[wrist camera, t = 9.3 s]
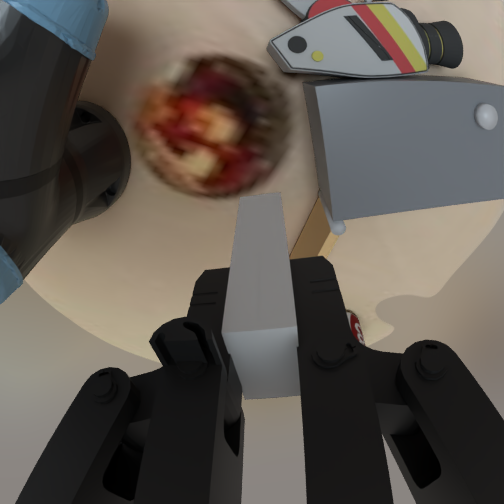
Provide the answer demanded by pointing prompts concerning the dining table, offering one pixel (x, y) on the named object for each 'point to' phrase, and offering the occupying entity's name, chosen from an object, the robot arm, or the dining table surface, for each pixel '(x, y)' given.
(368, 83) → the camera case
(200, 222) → the dining table surface
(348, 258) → the dining table surface
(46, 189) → the robot arm
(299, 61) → the film camera
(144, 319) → the dining table surface
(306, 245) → the side door
